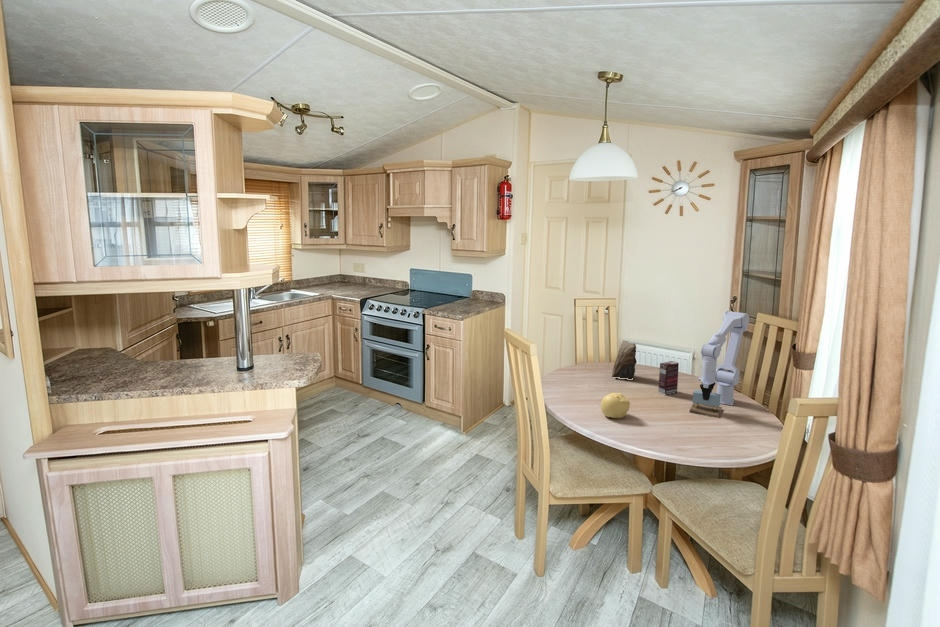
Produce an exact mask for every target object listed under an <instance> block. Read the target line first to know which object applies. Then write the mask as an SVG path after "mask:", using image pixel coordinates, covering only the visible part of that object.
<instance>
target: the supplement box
mask: <svg viewBox="0 0 940 627" xmlns="http://www.w3.org/2000/svg"><path fill="white" fill-rule="evenodd" d="M679 364H680V363H679V362H677V361H674V360H670V361H664V362H660V363H659V376H658V377H659V378H658V392H661V393H663V394H665V395H664V396H667V395H666V394H669V395H672V394H671V393H673V394H676V393H675V392H677V393H678V385H679V384H678V383H679V369H680V368H679ZM663 394H662V395H663Z"/></svg>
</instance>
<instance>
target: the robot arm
mask: <svg viewBox="0 0 940 627" xmlns="http://www.w3.org/2000/svg"><path fill="white" fill-rule="evenodd" d="M749 324H750V315H749V313H746V312H737V311H731V310H725V312H724V313H723V316H722V324H721V326H720V328H719V329H718V330H719V331H718V332H715V333H714V334H713V335H712V336H711V338H710V339H709V341H708V342H707V343H706V344H703V345H702V347H701V349H700V354H701V360H702V366H701V367H702V369H701V377H698V381H701V383H700V384H699V388H700V391H702V395H703V400H707V401H708V400H709V397H710V394H711V393H713V389H714V388H715V385H716V384H717V385H716V393H717V394H721V396H720V404H722V405H729V406H733V405H734V402H735V399H736V398H734V394H735V393H734V392H735V386H737V385H738V384H739V382H740V373H741V371H740V370H739V368H738V367H737V366H736V362H737V359H738V358H737V357H738V353H739V350H740V346H741V341H742V339H743V338H742V337H743V335H744V334H743V333H744V332H747V331H748V328H749ZM729 333H730V335H729V339H728V343H727V346H726V350H725V351H726V352H725V355H724V361H723V363H720V364H719V365H717V364H718V358H719V357H720V355H721V351H722V347H723V346H724V344H725V343H726V341H727V336H728V334H729Z"/></svg>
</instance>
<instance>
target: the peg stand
mask: <svg viewBox="0 0 940 627" xmlns="http://www.w3.org/2000/svg"><path fill="white" fill-rule="evenodd" d="M722 408H723V406H719V407H715V406H709V405H703V404H698V403H692V405H691V407H690V409H689V413H690V412H691V413H692V414H697V415H701V414H702V415H703V416H706V415H708V417H712V416H713V417H714V418H717V417H718V418H719V417H720V414H721V412H722ZM713 417H712V418H713Z"/></svg>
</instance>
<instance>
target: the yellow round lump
mask: <svg viewBox="0 0 940 627" xmlns="http://www.w3.org/2000/svg"><path fill="white" fill-rule="evenodd" d="M630 405H631V403H630V400H629V399H627V397H626V396H625V395H623V394H622V393H621V392H620V393H619V392H611V393H609V394H607V395H605V396H604V397H603V398H602V400H601V403H600V407H601V412H602V413H603V415H604V416H605V417H607V418H610V417H611V418H612V419H622V418H624V417H625V416H626V415H627V413H628V411H629V410H630V408H631V406H630Z"/></svg>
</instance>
